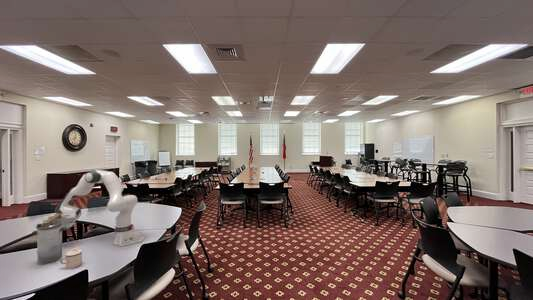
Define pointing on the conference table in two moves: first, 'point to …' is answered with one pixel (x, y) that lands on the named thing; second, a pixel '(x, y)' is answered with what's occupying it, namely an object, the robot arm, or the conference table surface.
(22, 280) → the conference table surface
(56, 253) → the grey tall piece
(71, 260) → the teacup with lid
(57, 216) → the lock bar
